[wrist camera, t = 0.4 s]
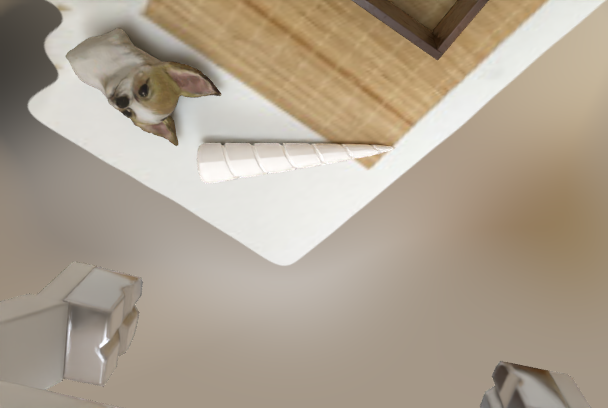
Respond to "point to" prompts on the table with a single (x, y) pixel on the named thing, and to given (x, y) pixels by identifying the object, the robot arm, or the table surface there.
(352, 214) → the table surface
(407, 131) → the table surface
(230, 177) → the unicorn horn
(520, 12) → the table surface
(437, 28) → the crate
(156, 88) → the ceramic sculpture
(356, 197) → the table surface
